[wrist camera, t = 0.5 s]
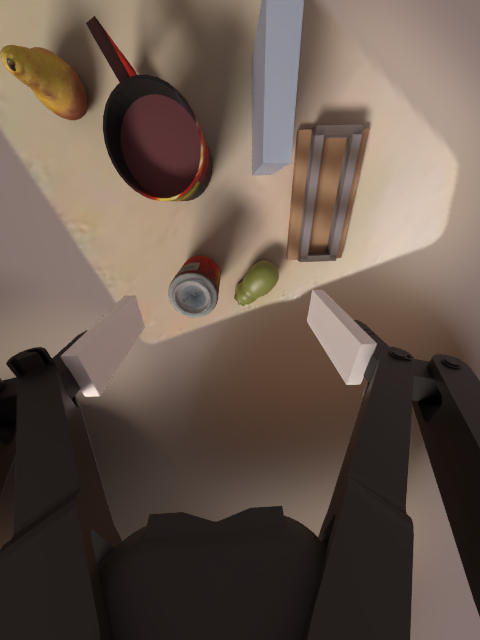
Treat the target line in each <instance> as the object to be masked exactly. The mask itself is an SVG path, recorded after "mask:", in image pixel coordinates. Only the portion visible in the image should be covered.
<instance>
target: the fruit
mask: <svg viewBox="0 0 480 640" xmlns="http://www.w3.org/2000/svg"><path fill="white" fill-rule="evenodd" d="M1 59H2V62H3V64H4V65H5V67H6V68H7V69H8V70H9V71H10V72H11V73H12V74H13V75H14V76H15V77H16V78H18V79H19V80H20V81H22V82H23V83H24V84H26V85H27V86H29V87H30V88H31V89H32V91H33V92H34V94H35V95H36V96H37V97H38V99H39V100H40V101H41V102H42V103H43V104H44V105H45V106H46V107H47V108H49V109H50V110H51V111H52V112H54V113H55V114H57V115H58V116H60V117H62V118H65V119H68V120H77V119H80V118H82V117H83V116H84V115H85V114H86V112H87V108H88V103H87V96H86V92H85V89H84V86H83V83H82V81H81V79H80V77H79V75H78V74H77V73H76V71H75V70H74V69H73V68H72V67H71V66H70V65H68V64H67V63H66V62H65V61H63V60H62V59H61V58H60V57H58V56H57V55H56V54H54V53H53V52H51V51H49V50H47V49H44V48H39V47H34V48H31V49H29V48H26V47H21V46H16V45H8V46H5V47H3V48H2V50H1Z"/></svg>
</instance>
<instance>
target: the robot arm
mask: <svg viewBox="0 0 480 640" xmlns="http://www.w3.org/2000/svg"><path fill="white" fill-rule="evenodd" d="M307 322H308V324H309V326H310V327H311V329H312V330H313V332H314V333H315V335H316V337H317V338H318V340H319V341H320V343H321V345H322V346H323V348H324V349H325V351H326V353H327V354H328V356H329V358H330V359H331V361H332V362H333V364H334V365H335V367H336V369H337V370H338V372H339V374H340V375H341V377H342V378H343V380H344V381H345V383H346V385H355V384H361V382H362V379H363V377H365V378H366V379H367V381H368V384H367V386H366V388H365V390H364V393H363V395H362V396H363V398H362V402H361V405H360V408H359V411H358V415H357V418H356V421H355V425H354V428H353V431H352V434H351V437H350V440H349V444H348V447H347V450H346V454H345V457H344V460H343V464H342V466H341V470H340V473H339V476H338V479H337V483H336V486H335V489H334V492H333V496H332V499H331V502H330V505H329V509H328V511H327V514H326V516H325V519H324V522H323V524H322V527H321V530H320V533H319V537H317V536H316V535H315V534H314V533H313V532H312V531H310V530H309V529H308V528H307V527H306V526H304V525H303V524H301V523H300V522H298V521H296V520H294V519H292V518H290V517H287V516H284V515H283V509H282V506H274V507H258V508H249V509H247V510H244V511H242V512H240V513H237V514H235V515H232V516H230V517H228V518H226V519H223V520H221V521H218V522H213V521H210V520H206V519H203V518H200V517H196V516H193V515H190V514H186V513H183V512H180V513H163V514H150V515H149V519H148V523H147V526H145V527H143V528H141V529H139V530H137V531H135V532H134V533H133V534H131V535H130V536H128V537H127V538H126V539H124V540H123V541H122V540H121V537H120V535H119V533H118V531H117V529H116V527H115V525H114V522H113V519H112V516H111V512H110V509H109V505H108V502H107V499H106V495H105V491H104V488H103V484H102V481H101V477H100V474H99V471H98V467H97V463H96V460H95V457H94V453H93V449H92V446H91V443H90V439H89V436H88V432H87V429H86V425H85V422H84V418H83V415H82V411H81V408H80V404H79V401H78V399H77V397H76V396H75V395H76V394H77V392H78V391H79V390H80V389H81V391H82V393H83V394H84V396H85V397H91V396H100V395H101V394H102V392H103V391H104V389H105V388H106V386H107V385H108V383H109V381H110V380H111V378H112V377H113V375H114V374H115V372H116V371H117V369H118V368H119V366H120V364H121V363H122V361H123V360H124V358H125V357H126V355H127V354H128V352H129V351H130V349H131V348H132V346H133V345H134V343H135V342H136V340H137V339H138V337H139V335H140V334H141V332H142V331H143V329H144V328H145V326H144V322H143V319H142V316H141V313H140V309H139V306H138V303H137V299H136V296H124V297H123V298H122V299H121V300H120V301H119V302H118V303H117V304H116V305H115V306H114V307H112V308H111V309H110V310H109V311H108V312H107V313H106V314H105V315H104V316H103V317H102V318H101V319H100V320H99V321H97V322H96V323H95V324H94V325H93V326H92V327H91V328H90V329H89V330H87V331H85V332H83V333H81V334H79V335H78V336H77V337H75V338H74V339H73V340H72V342H70V343H69V344H68V345H67V346H66V347H65V348H63V349H62V350H61V351H60V352H59V353H58V354H57V355H56V356H55V357H53V358H51V357H50V355H49V354H48V352H47V350H46V349H45V348H42V347H38V348H32V349H28V350H25V351H23V352H20V353H18V354H16V355H15V356H13V357H11V358H10V359H9V360H8V362H7V363H6V364H7V366H8V367H9V368H10V369H11V371H12V372H13V373H14V374H15V376H16V378H12V379H8V380H3V381H2V380H1V379H0V496H1V494H2V490H3V488H4V485H5V483H6V480H7V477H8V474H9V471H10V469H11V466H12V463H13V461H14V458H15V455H16V463H15V509H14V534H13V537H12V539H11V540H10V541H9V542H7V543H6V544H4V545H3V547H2V548H1V550H0V640H410V625H411V624H410V623H411V596H412V567H413V538H414V533H413V522H412V519H411V517H409V516H408V515H407V514H406V492H407V476H408V461H409V445H410V430H411V414H412V405H413V408H414V412H415V415H416V418H417V421H418V424H419V428H420V431H421V434H422V437H423V440H424V443H425V447H426V450H427V453H428V456H429V459H430V463H431V466H432V469H433V472H434V475H435V478H436V482H437V485H438V488H439V491H440V494H441V497H442V501H443V504H444V507H445V510H446V513H447V516H448V520H449V523H450V526H451V529H452V532H453V536H454V539H455V542H456V545H457V548H458V551H459V555H460V558H461V561H462V564H463V567H464V570H465V574H466V577H467V580H468V583H469V586H470V589H471V592H472V596H473V599H474V602H475V605H476V607H477V610H478V613H479V616H480V381H479V379H478V378H477V377H476V375H475V374H474V373H473V371H472V370H471V368H470V367H469V366H468V365H467V364H465V363H464V362H462V361H461V360H460V359H457V358H455V357H452V356H448V355H442V354H437V355H434V356H433V357H432V359H431V360H430V362H428V361H423V360H416V359H414V357H413V356H412V355H411V354H409V353H408V352H406V351H404V350H402V349H399V348H395V347H389V346H388V345H387V344H386V343H385V342H384V341H383V340H382V339H380V338H379V337H378V336H377V335H376V334H375V333H374V332H373V331H372V330H370V328H369V327H368V326H367V325H365V324H363V323H362V322H360V321H358V320H353V319H352V318H351V317H350V316H349V315H348V314H347V313H346V312H344V310H343V309H341V307H339V306H338V305H337V304H336V303H335V302H334V301H333V300H332V299H331V298H330V297H329V296H328V295H327V294H326V293H325V292H324V291H323V290H312V296H311V301H310V307H309V312H308V318H307Z"/></svg>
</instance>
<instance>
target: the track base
mask: <svg viewBox="0 0 480 640" xmlns="http://www.w3.org/2000/svg"><path fill="white" fill-rule="evenodd" d="M363 127H364V124H354V125H316V126H315V127H314V128H313V129H311V130H298V131H297V139H296V150H295V162H294V174H293V185H292V197H291V209H290V220H289V232H288V244H287V256H286V259H287V260H298V261H299V262H314V261H336V258H341V256H342V251H343V247H344V242H345V238H346V233H347V228H348V224H349V219H350V215H351V210H352V206H353V201H354V196H355V192H356V187H357V183H358V178H359V174H360V169H361V164H362V160H363V155H364V151H365V146H366V142H367V137H368V132H369V128H363Z"/></svg>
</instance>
